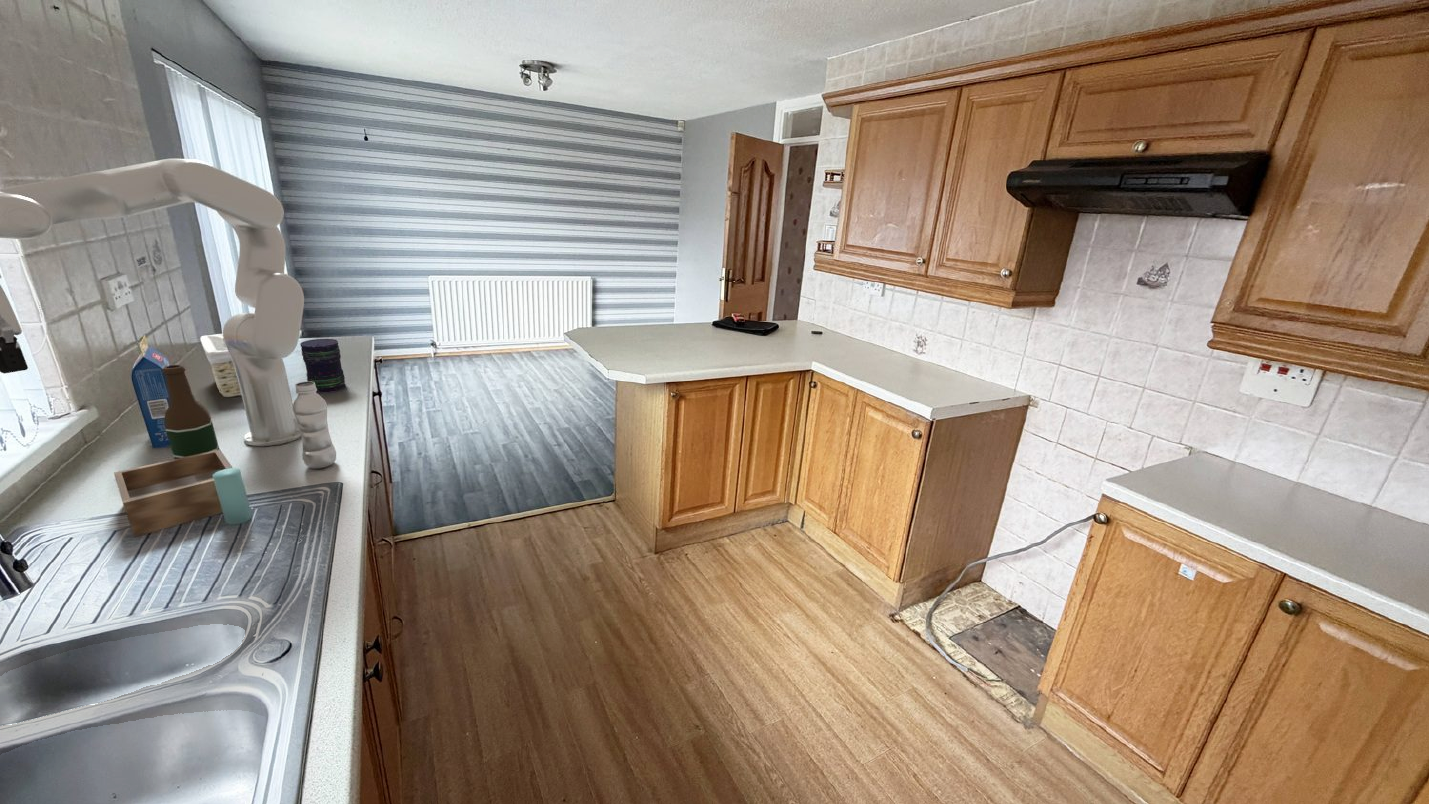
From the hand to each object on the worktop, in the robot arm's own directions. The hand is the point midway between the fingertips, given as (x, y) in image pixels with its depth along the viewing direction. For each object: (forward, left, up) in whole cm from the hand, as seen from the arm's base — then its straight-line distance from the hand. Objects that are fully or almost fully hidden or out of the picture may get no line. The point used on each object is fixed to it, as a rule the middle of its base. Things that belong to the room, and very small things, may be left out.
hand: (1, 367), depth 101 cm
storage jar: (-59, -43, -28) cm, 78 cm away
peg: (-23, +30, -28) cm, 47 cm away
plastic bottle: (-41, +15, -28) cm, 52 cm away
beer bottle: (-22, 0, -28) cm, 36 cm away
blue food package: (-20, -24, -28) cm, 42 cm away
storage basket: (-42, -60, -28) cm, 79 cm away
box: (-17, +17, -28) cm, 37 cm away
